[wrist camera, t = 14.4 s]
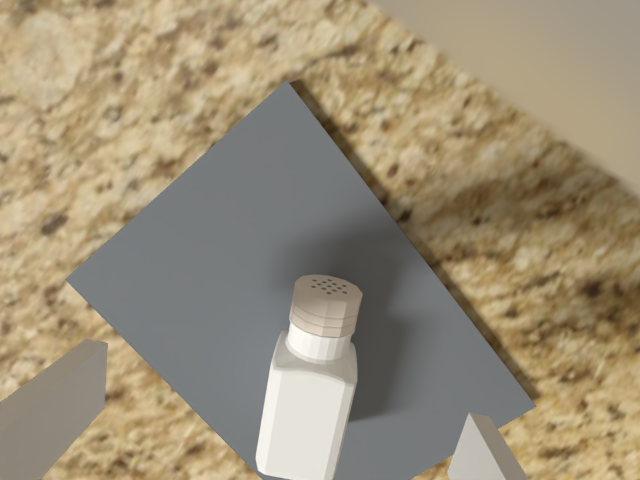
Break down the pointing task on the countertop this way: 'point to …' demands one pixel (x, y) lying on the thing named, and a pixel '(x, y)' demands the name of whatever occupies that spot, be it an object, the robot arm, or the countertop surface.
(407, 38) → the countertop surface
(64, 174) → the countertop surface
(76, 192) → the countertop surface
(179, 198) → the rubber mat
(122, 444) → the countertop surface
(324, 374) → the salt shaker
